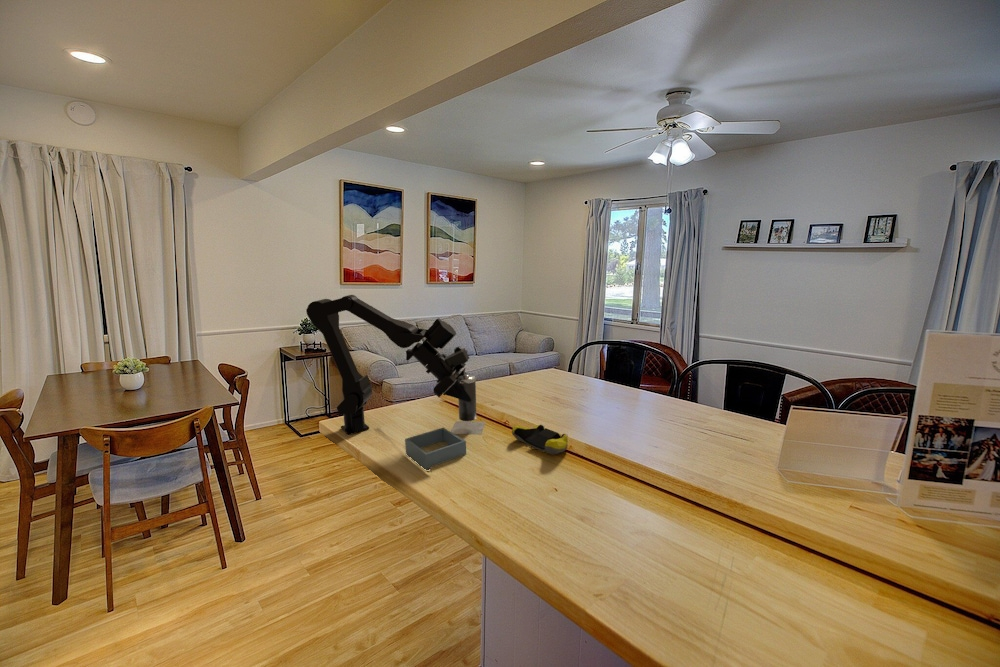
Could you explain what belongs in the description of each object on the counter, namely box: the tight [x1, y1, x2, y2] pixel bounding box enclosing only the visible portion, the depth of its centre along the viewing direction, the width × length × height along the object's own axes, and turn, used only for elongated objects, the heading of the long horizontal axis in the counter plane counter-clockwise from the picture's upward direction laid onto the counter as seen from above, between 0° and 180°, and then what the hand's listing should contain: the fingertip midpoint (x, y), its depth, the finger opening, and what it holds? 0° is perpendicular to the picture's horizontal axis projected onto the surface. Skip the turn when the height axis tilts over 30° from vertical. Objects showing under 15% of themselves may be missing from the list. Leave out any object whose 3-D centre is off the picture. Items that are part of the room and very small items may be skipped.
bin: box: [404, 427, 467, 470], centre depth 111 cm, size 11×11×4 cm
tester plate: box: [450, 420, 487, 435], centre depth 127 cm, size 9×9×1 cm
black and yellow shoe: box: [511, 424, 569, 456], centre depth 114 cm, size 15×6×10 cm
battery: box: [457, 374, 478, 421], centre depth 125 cm, size 5×5×13 cm
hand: (471, 397), depth 125 cm, fingers closed on battery, 5 cm apart
